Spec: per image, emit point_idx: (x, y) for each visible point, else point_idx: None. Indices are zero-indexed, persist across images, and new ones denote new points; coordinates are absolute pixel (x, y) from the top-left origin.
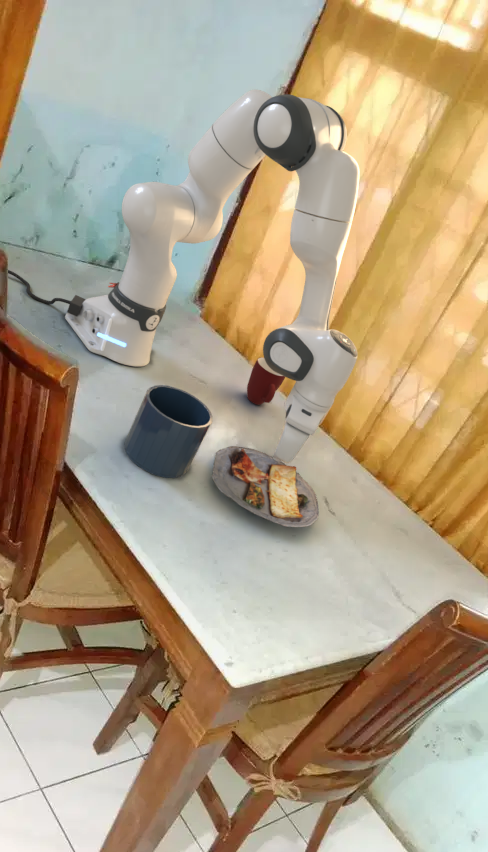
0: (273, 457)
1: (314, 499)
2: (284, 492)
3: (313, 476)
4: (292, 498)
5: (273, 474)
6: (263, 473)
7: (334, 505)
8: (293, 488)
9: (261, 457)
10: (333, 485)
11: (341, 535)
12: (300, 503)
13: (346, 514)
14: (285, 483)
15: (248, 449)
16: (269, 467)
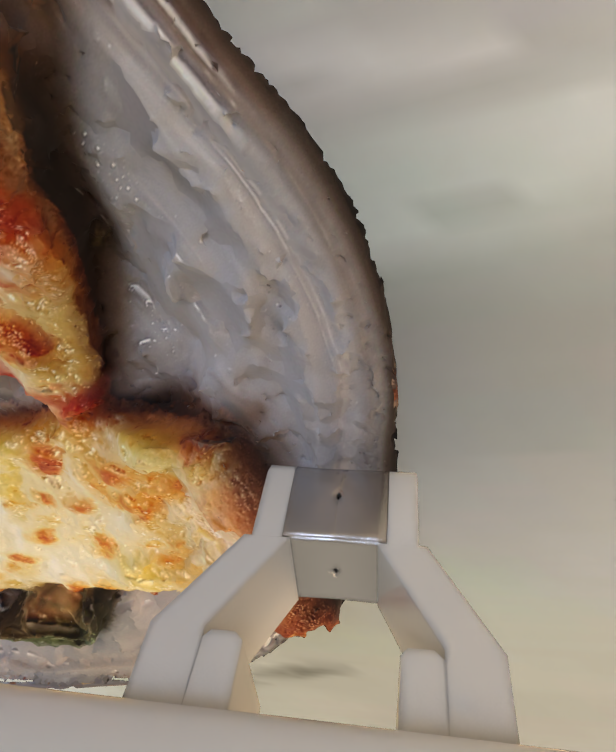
0: (269, 474)
1: (127, 669)
2: (4, 528)
3: (538, 638)
4: (10, 567)
5: (109, 458)
6: (56, 375)
7: (312, 695)
8: (111, 578)
9: (285, 327)
10: (531, 709)
11: (96, 694)
12: (25, 600)
13: None
14: (113, 534)
15: (261, 140)
16: (214, 413)
